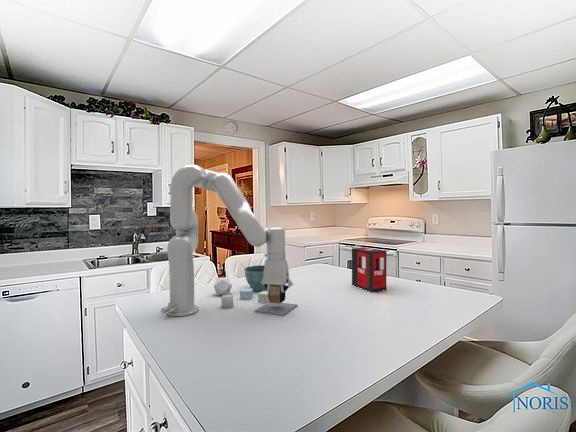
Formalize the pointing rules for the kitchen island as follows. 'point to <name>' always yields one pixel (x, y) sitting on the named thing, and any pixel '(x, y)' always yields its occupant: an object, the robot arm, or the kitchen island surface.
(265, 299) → the sage block
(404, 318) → the kitchen island surface
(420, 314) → the kitchen island surface
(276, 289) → the walnut block
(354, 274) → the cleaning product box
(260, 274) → the flower pot
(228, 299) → the grey rounded piece
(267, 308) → the slate mat
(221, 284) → the die
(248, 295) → the dusty blue cube
